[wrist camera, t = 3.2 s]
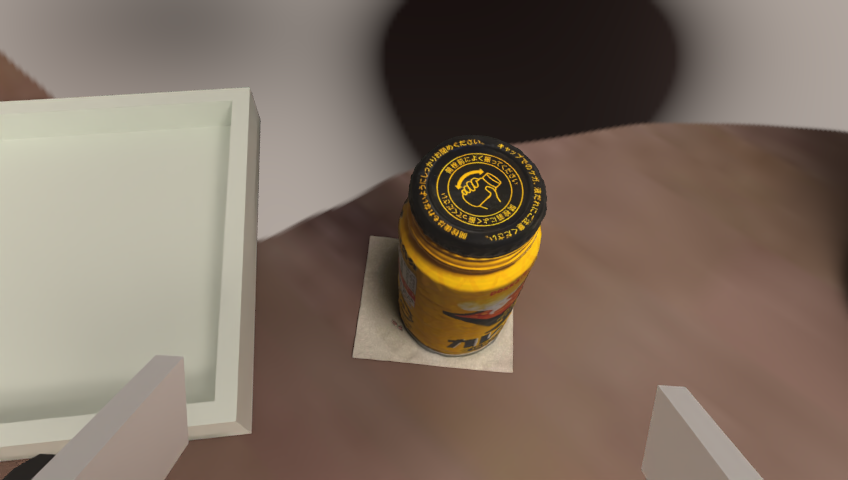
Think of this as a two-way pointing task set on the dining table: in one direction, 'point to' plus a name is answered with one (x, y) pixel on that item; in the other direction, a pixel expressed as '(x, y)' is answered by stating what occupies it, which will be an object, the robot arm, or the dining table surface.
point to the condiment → (455, 259)
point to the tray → (126, 257)
